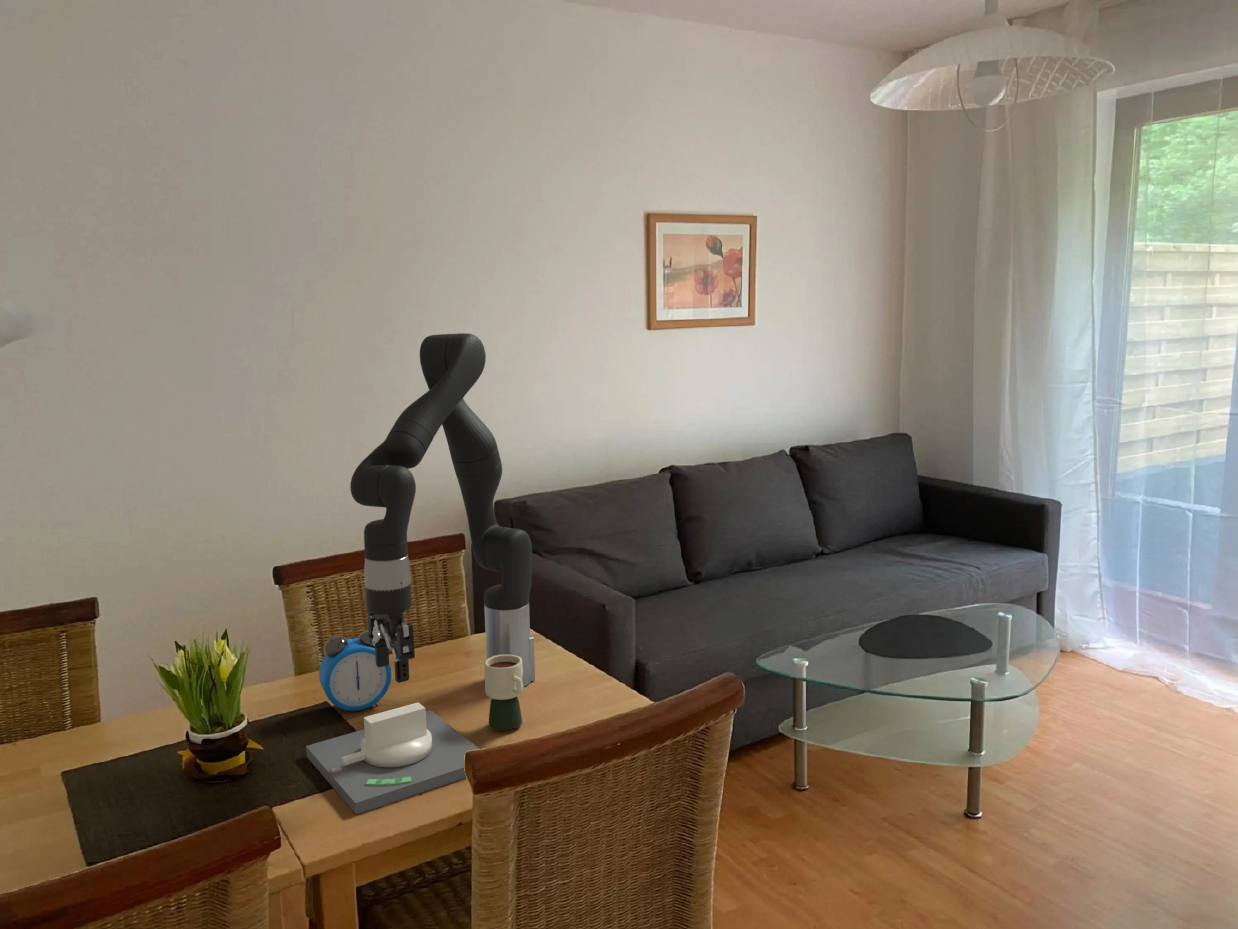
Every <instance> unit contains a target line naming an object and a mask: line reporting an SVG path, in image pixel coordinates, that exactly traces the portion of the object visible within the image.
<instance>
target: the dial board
mask: <svg viewBox="0 0 1238 929" xmlns="http://www.w3.org/2000/svg"><path fill="white" fill-rule="evenodd" d="M426 728H427V730H429V731H430V733H431V735H432V750H431V752H430V753H429V754H428V755H427V756H426V757H425V758H423V759H422V760H420V761H417V762H415V763H412V764H409V765H405V766H399V767H378V766H373V765H370V764H368V763H366V762H365V761H364V760H361V761H357V762H354V763H351V764H347V765H345V764H344V763H343V762H342V757H343V756H347V755H350V754H354V753H357V752H360V751H361V741H362V739H363V738H364V737H365V729H361V730H360V729H359V730H358V731H354V732H349V733H346V734H343V735H340V736H336V737H332V738H328V739H326V740H325V739H324V740H322V741H318V742H315V743H312V744H309V745H305V752H306V753H305V754H306V755H305V756H306V758H307V759H308V760H309V761H310V762H311V764H312V765H313V766H314V767H315V768H316V769H317V770H318V772H319V771H320V772H319V773H320V774H321V775H322V776H323V778H324V779H325V780H326V781H327V783H329V785H330V786H331V787H332V788H333V789H334V790H335V792H336V793H337V794H338V795H339V796H340V798H342V800H343V801H344V803H345V804H346V805H348V807H349V808H350V809H351V811H352V812H353V814H355V815H360V814H362V813H367V812H369V811H371V810H375V809H378V808H381V807H384V806H387V805H389V804H392V803H395V802H398V801H402V800H404V799H408V798H411V797H414V796H416V795H420V794H422V793H426V792H429V791H432V790H434V789H437V788H440V787H442V786H446V785H449V784H453V783H455V782H459V781H461V780H464V779H467V778H466V775H465V771H464V755H465V754H466V751H468V750H473V749H480V748H479V747H478V746H477V745H476V744H475V743H473V742H471V741H470V740H469V739H468V738H467V737H465V736H464V735H463V734H462V733H460V732H459V731H458V730H456V729H455V728H454V727H453V726H451V725H450V724H449V723H448V722H446V720H444V719H443V718H442V717H440V716H439V715H438V714H436V713H435V712H434V711H432V710H427V711H426Z"/></svg>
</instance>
